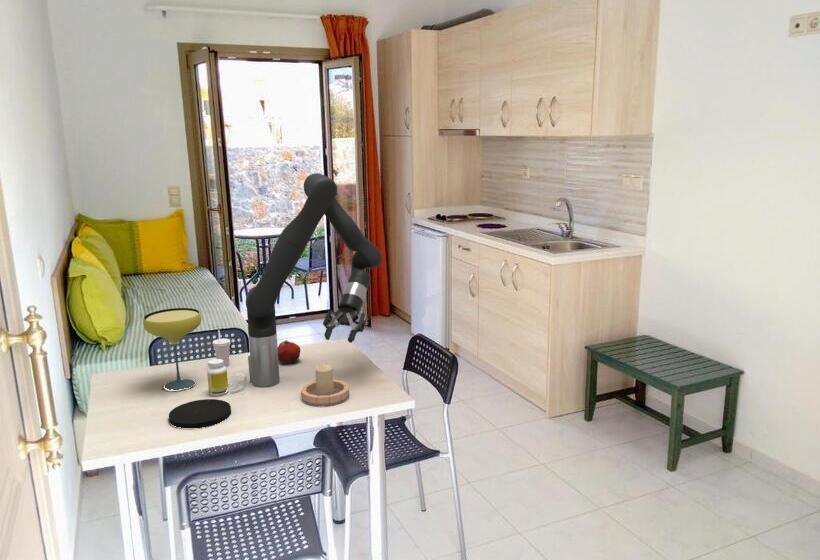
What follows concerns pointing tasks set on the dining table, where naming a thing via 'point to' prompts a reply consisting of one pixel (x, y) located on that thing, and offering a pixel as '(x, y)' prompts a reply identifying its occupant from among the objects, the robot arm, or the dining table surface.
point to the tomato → (288, 352)
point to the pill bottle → (217, 377)
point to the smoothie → (222, 349)
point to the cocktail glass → (173, 333)
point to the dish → (313, 399)
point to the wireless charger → (200, 413)
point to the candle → (324, 379)
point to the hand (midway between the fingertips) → (338, 340)
